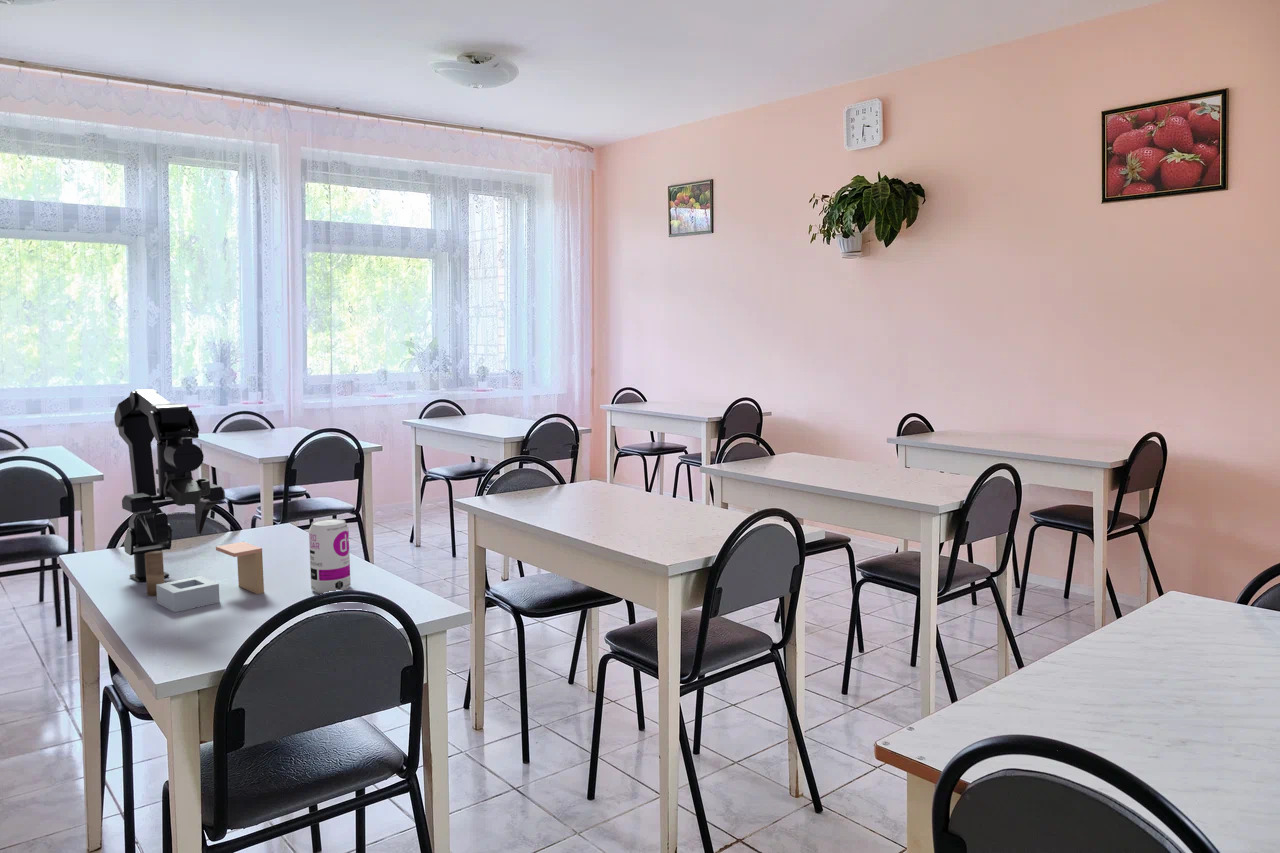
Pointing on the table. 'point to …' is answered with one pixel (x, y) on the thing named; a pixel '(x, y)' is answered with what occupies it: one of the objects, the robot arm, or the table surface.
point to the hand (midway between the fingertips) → (176, 537)
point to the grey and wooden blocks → (207, 591)
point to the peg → (154, 571)
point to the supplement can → (329, 555)
